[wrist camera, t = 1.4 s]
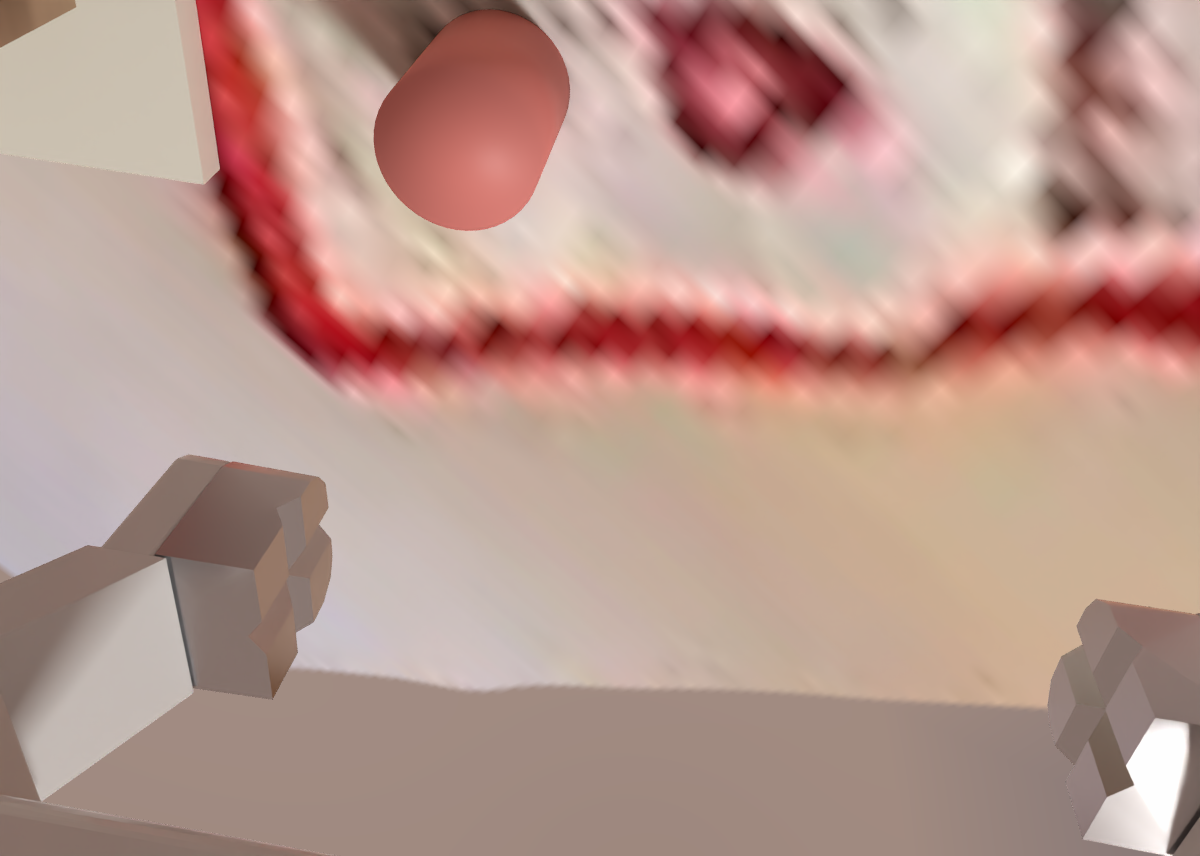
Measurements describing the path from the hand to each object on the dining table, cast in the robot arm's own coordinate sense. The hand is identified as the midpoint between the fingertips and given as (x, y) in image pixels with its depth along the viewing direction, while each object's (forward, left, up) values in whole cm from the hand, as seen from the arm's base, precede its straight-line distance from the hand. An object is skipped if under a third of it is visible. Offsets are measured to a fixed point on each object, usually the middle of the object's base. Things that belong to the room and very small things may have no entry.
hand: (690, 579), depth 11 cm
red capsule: (+3, -7, -22) cm, 23 cm away
